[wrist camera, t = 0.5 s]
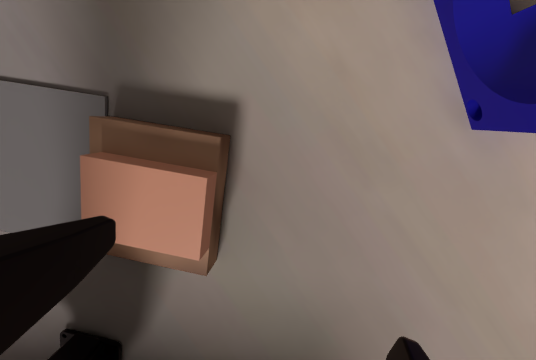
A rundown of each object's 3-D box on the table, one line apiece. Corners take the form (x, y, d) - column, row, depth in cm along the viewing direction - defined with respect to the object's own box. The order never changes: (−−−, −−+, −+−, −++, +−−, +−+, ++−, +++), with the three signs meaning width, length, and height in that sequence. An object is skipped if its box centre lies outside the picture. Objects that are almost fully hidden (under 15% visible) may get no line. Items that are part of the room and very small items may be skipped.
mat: (107, 251, 25) (104, 253, 25) (3, 229, 26) (0, 230, 26) (107, 96, 22) (104, 96, 21) (-12, 78, 23) (-16, 77, 22)
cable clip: (542, 102, 18) (658, 94, 12) (470, 129, 19) (545, 133, 13) (495, -88, 16) (603, -208, 10) (417, -48, 17) (476, -136, 11)
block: (217, 172, 19) (207, 178, 17) (209, 247, 20) (199, 261, 18) (101, 151, 20) (79, 155, 18) (102, 225, 21) (81, 235, 19)
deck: (216, 260, 23) (206, 276, 21) (112, 237, 24) (91, 250, 22) (230, 135, 21) (220, 137, 18) (112, 116, 22) (89, 116, 19)
